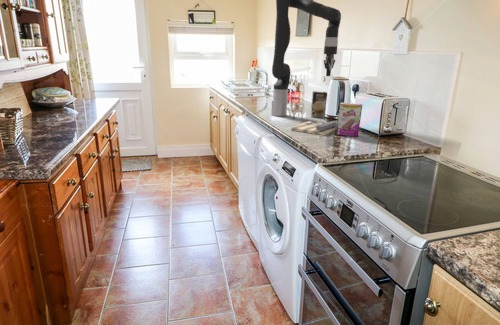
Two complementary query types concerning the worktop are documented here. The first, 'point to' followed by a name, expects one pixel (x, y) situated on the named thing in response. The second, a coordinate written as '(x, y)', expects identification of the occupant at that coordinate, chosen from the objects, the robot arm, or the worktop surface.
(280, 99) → the robot arm
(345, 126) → the candy bar box
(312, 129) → the striped wooden cutting board
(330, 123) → the swing bar
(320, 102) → the coffee box
